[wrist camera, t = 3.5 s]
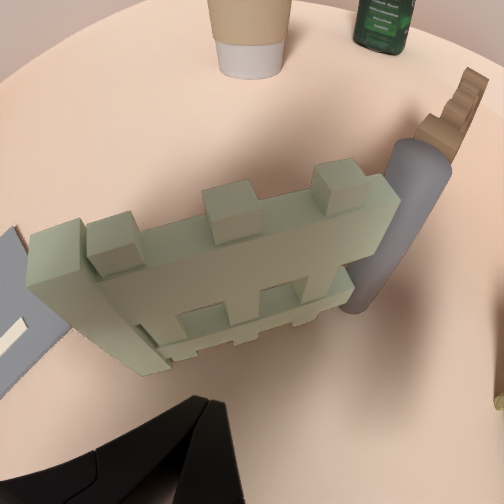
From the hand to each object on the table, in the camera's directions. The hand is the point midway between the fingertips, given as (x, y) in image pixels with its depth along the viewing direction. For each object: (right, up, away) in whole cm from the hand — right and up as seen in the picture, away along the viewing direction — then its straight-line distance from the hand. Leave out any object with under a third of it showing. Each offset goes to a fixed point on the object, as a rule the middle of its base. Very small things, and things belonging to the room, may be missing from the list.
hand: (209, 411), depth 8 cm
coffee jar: (+20, +35, +32) cm, 52 cm away
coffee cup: (+1, +25, +25) cm, 35 cm away
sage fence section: (+1, 0, +8) cm, 8 cm away
